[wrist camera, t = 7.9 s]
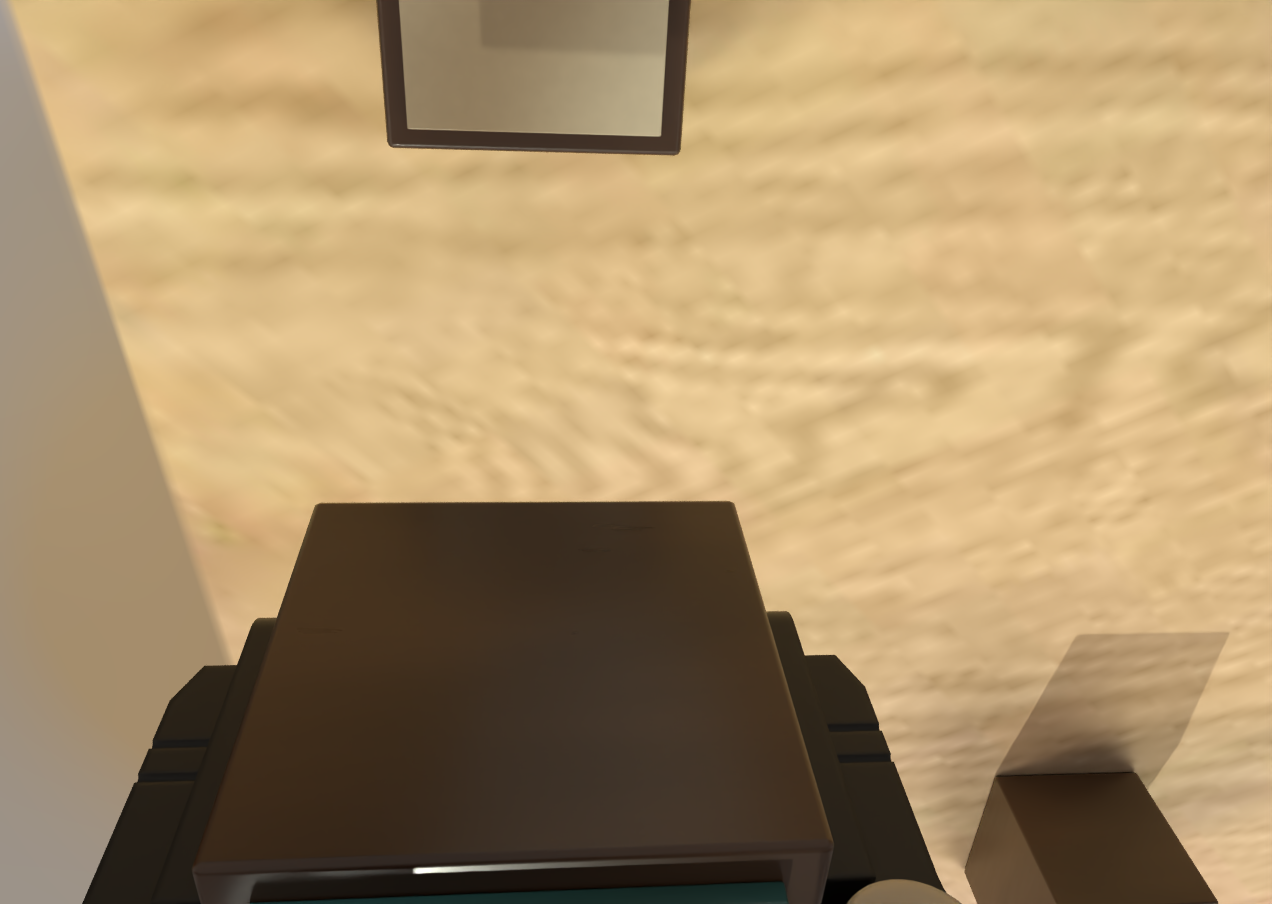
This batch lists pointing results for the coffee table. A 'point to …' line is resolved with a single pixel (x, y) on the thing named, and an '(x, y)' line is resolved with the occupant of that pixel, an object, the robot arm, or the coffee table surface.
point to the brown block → (535, 74)
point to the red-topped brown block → (1079, 845)
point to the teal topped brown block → (519, 717)
